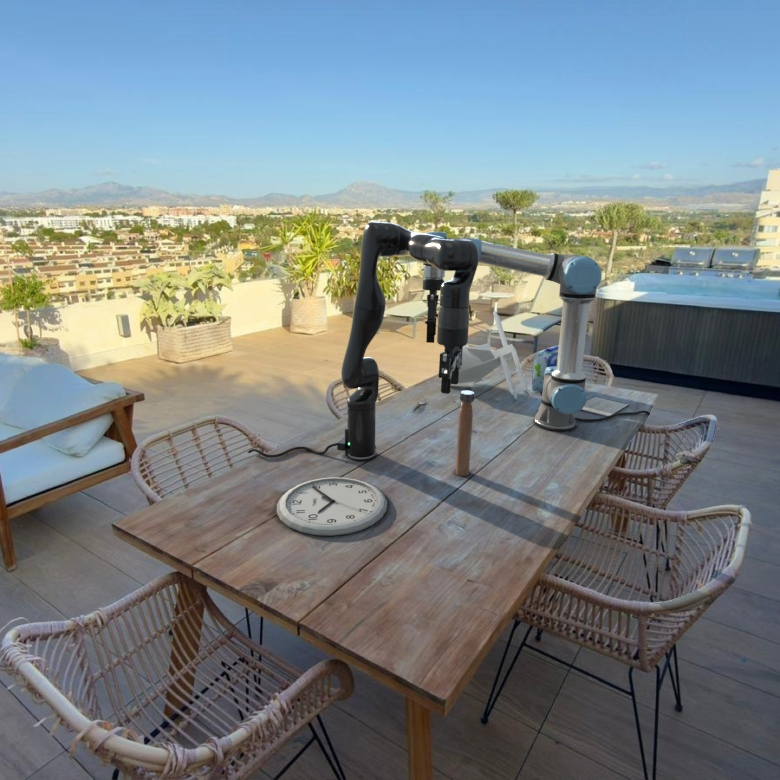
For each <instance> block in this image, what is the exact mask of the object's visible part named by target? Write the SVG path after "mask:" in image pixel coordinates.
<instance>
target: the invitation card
mask: <svg viewBox="0 0 780 780" xmlns="http://www.w3.org/2000/svg"><path fill="white" fill-rule="evenodd" d="M628 406H629V404H627V403H623V402H618V401H614V400H609V399H605V398H601V397H596V396H593V397H592V398H590V399H587V400H586V404H585V406H584V407H583V408H582V409H581V410H580V411H584V412H587V413H593V414H596V415H600V416H604V417H607V416H610V415H613V414H617V413H619V411H621V410H623V409H624V408H626V407H628Z"/></svg>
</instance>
